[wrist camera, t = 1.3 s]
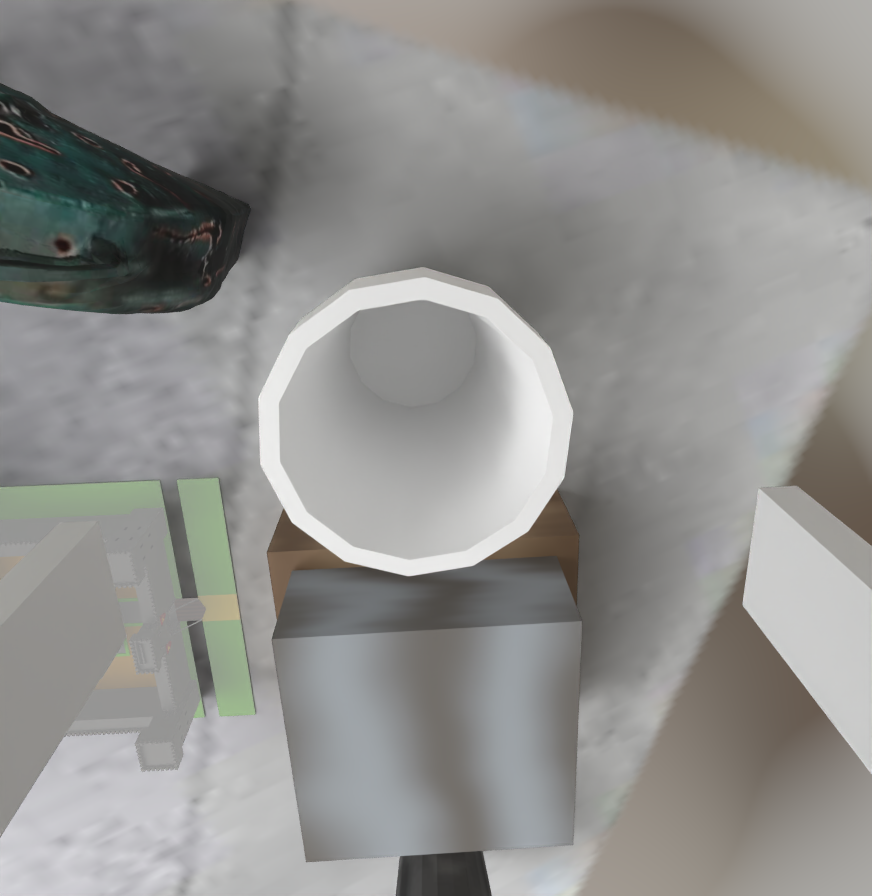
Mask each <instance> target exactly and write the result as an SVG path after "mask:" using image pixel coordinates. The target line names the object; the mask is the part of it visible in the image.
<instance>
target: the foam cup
mask: <svg viewBox="0 0 872 896" xmlns="http://www.w3.org/2000/svg"><path fill="white" fill-rule="evenodd" d="M258 408H259V439H260V465H261V467H262V469H263V471H264V473H265V474H266V476H267V478H268V480H269V482H270V484H271V485H272V487H273V489H274V491H275V493H276V495H277V496H278V498H279V500H280V502H281V504H282V505H283V507H284V509H285V511H286V513H287V515H288V516H289V518H290V520H291V522H292V523H293V524H294V525H296V526H297V527H298V528H300V529H301V530H303V531H304V532H305V533H307V534H308V535H309V536H311V537H312V538H313V539H315V540H316V541H318V542H319V543H320V544H322V545H323V546H324V547H326V548H327V549H328V550H330V551H331V552H332V553H334V554H335V555H337V556H338V557H339V558H341V559H342V560H343V561H345V562H349V563H353V564H358V565H362V566H366V567H370V568H375V569H379V570H383V571H388V572H392V573H396V574H400V575H405V576H414V575H420V574H426V573H432V572H439V571H445V570H451V569H457V568H463V567H469V566H474V565H475V564H477V563H478V562H480V561H482V560H483V559H485V558H486V557H488V556H490V555H491V554H493V553H495V552H496V551H498V550H499V549H501V548H503V547H504V546H506V545H507V544H509V543H511V542H512V541H514V540H515V539H517V538H519V537H520V536H522V535H523V534H525V533H527V532H528V531H529V530H530V528H531V527H532V525H533V524H534V522H535V521H536V519H537V518H538V516H539V515H540V513H541V512H542V510H543V509H544V507H545V506H546V504H547V503H548V501H549V500H550V498H551V497H552V495H553V494H554V492H555V491H556V489H557V488H558V486H559V485H560V484H561V482H562V481H563V479H564V477H565V469H566V462H567V455H568V448H569V441H570V434H571V427H572V420H573V410H572V407H571V404H570V402H569V399H568V396H567V393H566V390H565V387H564V384H563V382H562V379H561V376H560V373H559V370H558V367H557V365H556V362H555V359H554V356H553V353H552V350H551V348H550V347H549V345H548V344H547V343H546V342H545V341H544V340H543V338H542V337H541V336H540V335H539V334H538V332H537V331H536V330H535V329H534V328H533V327H531V326H530V325H529V324H528V323H527V322H526V321H525V320H524V319H523V318H522V317H521V316H520V315H519V314H518V313H517V312H516V311H514V310H513V309H512V308H511V307H510V306H509V305H508V304H507V303H506V302H505V301H504V300H503V299H502V298H501V297H500V296H499V295H497V294H496V293H495V292H494V291H493V290H492V289H491V288H490V287H489V286H486V285H483V284H479V283H476V282H473V281H469V280H466V279H462V278H459V277H456V276H452V275H449V274H446V273H442V272H439V271H435V270H432V269H429V268H425V267H419V268H414V269H408V270H402V271H396V272H391V273H385V274H379V275H373V276H367V277H362V278H356V279H354V280H353V281H351V282H350V283H349V284H347V285H346V286H345V287H343V288H342V289H341V290H339V291H338V292H336V293H335V294H334V295H332V296H331V297H330V298H328V299H327V300H326V301H324V302H323V303H322V304H320V305H319V306H318V307H316V308H315V309H313V310H312V311H311V312H309V313H308V314H307V315H305V316H304V317H303V318H301V319H300V321H299V322H298V323H297V325H296V326H295V327H294V329H293V330H292V331H291V333H290V334H289V336H288V338H287V340H286V342H285V344H284V346H283V348H282V350H281V352H280V354H279V356H278V358H277V360H276V362H275V364H274V366H273V368H272V370H271V372H270V375H269V377H268V379H267V381H266V383H265V385H264V387H263V389H262V391H261V393H260V395H259V397H258Z"/></svg>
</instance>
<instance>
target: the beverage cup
mask: <svg viewBox="0 0 872 896" xmlns="http://www.w3.org/2000/svg"><path fill="white" fill-rule="evenodd" d="M396 896H492V895H491V890H490V885H489V880H488V875H487V870H486V865H485V861H484V856H483V851H472V852H456V853H441V854H425V855H410V856H400V860H399V870H398V879H397V889H396Z"/></svg>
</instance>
